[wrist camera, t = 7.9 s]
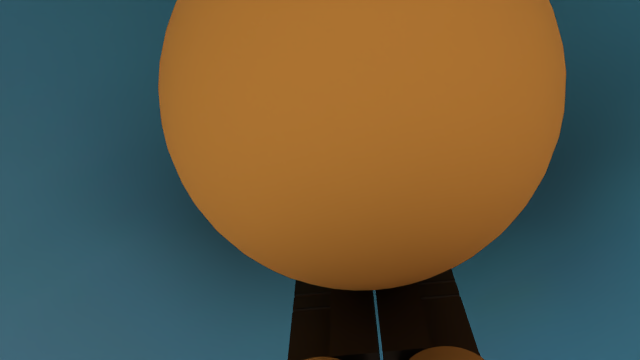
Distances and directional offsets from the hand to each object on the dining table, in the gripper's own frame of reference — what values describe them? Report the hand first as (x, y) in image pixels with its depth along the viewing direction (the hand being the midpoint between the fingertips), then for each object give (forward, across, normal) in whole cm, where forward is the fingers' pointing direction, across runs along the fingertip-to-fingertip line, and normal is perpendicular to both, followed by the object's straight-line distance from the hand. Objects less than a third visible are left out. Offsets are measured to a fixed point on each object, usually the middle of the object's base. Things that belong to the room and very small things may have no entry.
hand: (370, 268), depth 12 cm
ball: (-1, 0, -4) cm, 4 cm away
